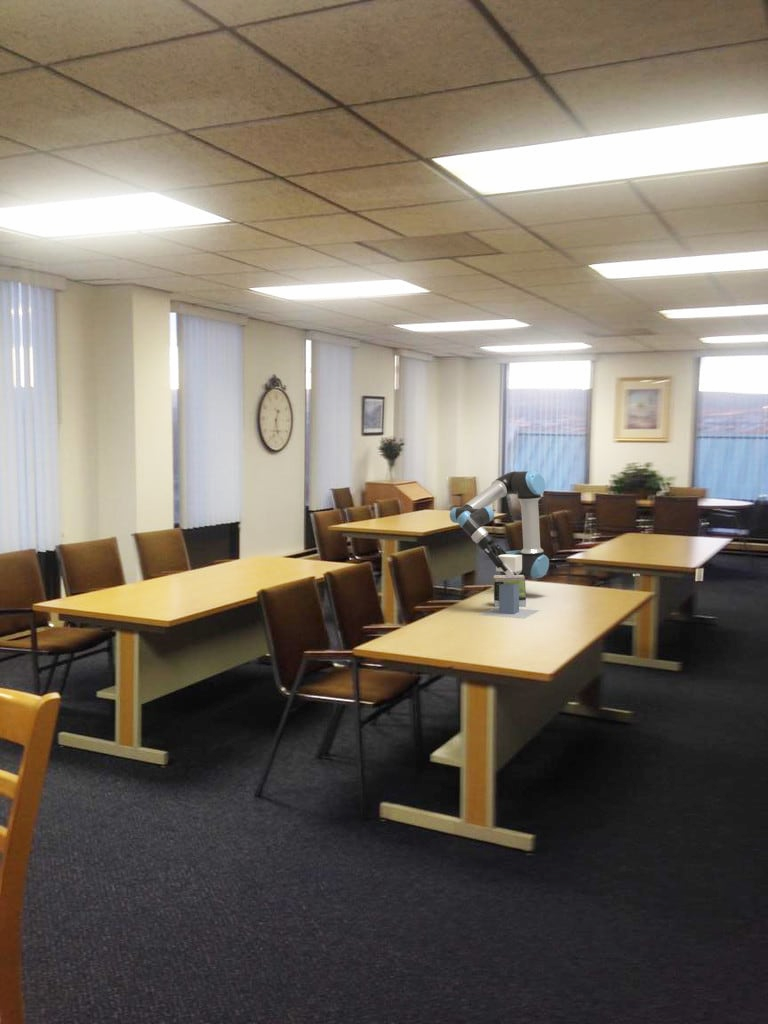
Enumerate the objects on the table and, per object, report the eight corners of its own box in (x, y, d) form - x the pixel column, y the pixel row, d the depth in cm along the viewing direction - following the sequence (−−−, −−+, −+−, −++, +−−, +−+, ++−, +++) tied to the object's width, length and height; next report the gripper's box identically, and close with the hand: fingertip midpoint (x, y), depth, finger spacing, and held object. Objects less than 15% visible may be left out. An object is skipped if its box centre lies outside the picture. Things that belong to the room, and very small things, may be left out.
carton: (504, 610, 399) (504, 583, 399) (519, 611, 396) (519, 584, 395) (499, 613, 393) (499, 585, 392) (513, 614, 390) (513, 586, 389)
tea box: (524, 604, 419) (524, 574, 418) (525, 608, 409) (525, 577, 408) (493, 604, 420) (493, 574, 420) (494, 607, 410) (494, 577, 410)
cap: (503, 568, 400) (503, 554, 399) (522, 569, 395) (522, 555, 395) (496, 571, 392) (495, 556, 391) (515, 572, 387) (515, 557, 387)
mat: (495, 608, 410) (495, 607, 410) (540, 611, 399) (540, 610, 399) (477, 615, 390) (477, 614, 390) (524, 619, 380) (524, 618, 380)
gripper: (486, 542, 410) (518, 576, 403) (468, 546, 391) (501, 583, 384) (497, 531, 407) (529, 566, 400) (479, 535, 388) (512, 572, 381)
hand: (515, 574), depth 392 cm, fingers closed on cap, 9 cm apart
